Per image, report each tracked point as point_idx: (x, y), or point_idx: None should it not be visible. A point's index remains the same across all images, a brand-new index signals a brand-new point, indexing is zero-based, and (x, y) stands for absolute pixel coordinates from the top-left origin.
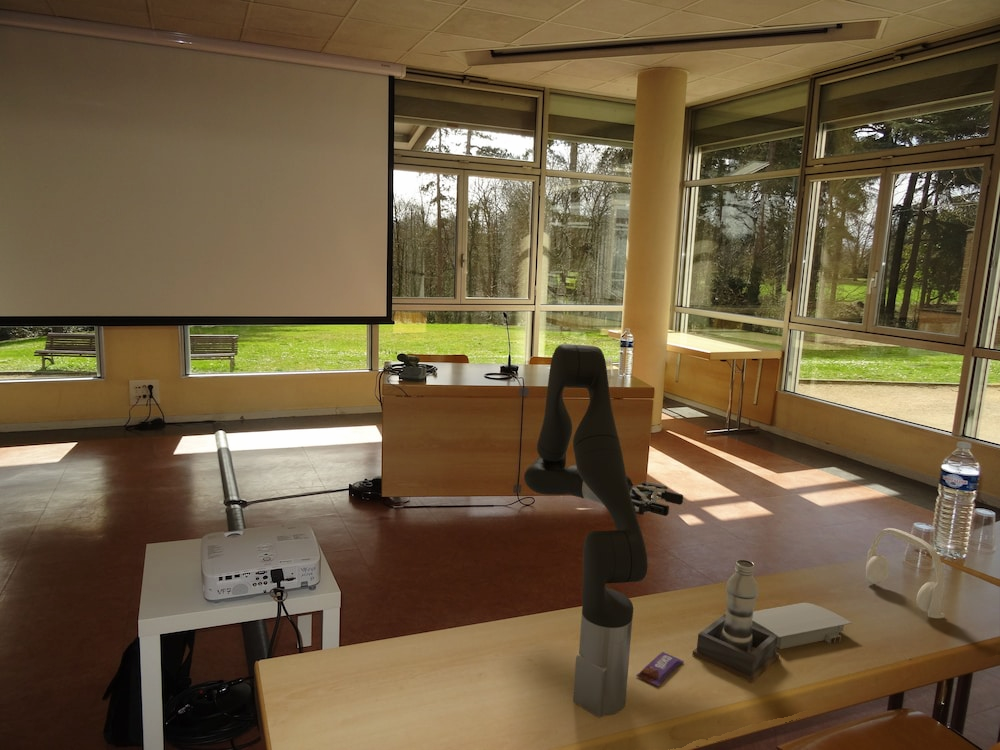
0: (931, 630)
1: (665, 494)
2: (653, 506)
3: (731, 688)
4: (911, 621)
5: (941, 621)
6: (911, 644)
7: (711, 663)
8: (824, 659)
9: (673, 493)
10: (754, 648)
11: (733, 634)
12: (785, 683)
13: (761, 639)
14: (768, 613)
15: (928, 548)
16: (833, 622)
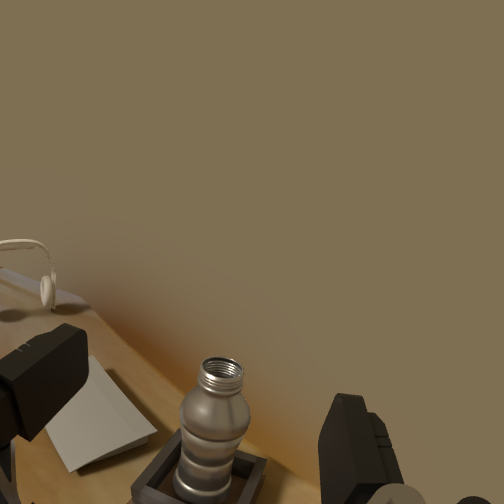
0: (72, 317)
1: (7, 404)
2: (398, 472)
3: (293, 498)
4: (57, 322)
5: (56, 307)
6: (100, 336)
7: None
8: (156, 405)
9: (49, 352)
10: (175, 469)
11: (230, 476)
12: (238, 447)
13: (176, 452)
14: (71, 427)
15: (40, 244)
16: (95, 369)
